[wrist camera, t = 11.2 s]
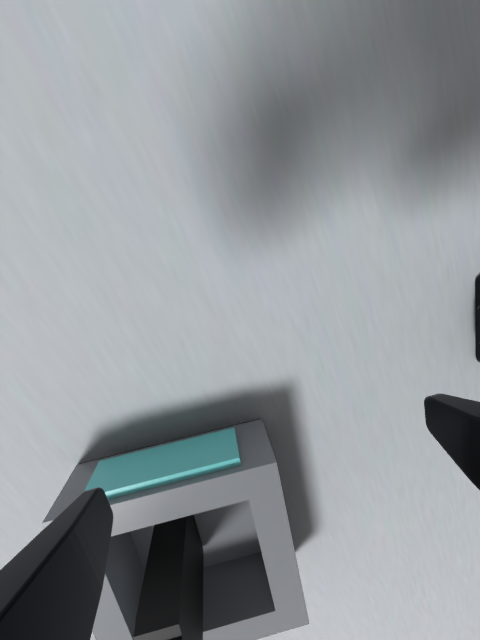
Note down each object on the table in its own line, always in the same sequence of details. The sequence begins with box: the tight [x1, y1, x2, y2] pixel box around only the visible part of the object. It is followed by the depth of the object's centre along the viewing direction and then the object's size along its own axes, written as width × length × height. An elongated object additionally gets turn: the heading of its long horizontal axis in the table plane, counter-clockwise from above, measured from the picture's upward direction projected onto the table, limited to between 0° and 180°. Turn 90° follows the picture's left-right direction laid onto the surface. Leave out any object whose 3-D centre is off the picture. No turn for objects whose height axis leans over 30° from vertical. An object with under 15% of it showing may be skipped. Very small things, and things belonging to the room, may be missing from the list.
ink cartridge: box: [133, 515, 204, 640], centre depth 18 cm, size 5×2×8 cm, turn 11°
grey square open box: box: [43, 419, 309, 640], centre depth 20 cm, size 13×14×4 cm
